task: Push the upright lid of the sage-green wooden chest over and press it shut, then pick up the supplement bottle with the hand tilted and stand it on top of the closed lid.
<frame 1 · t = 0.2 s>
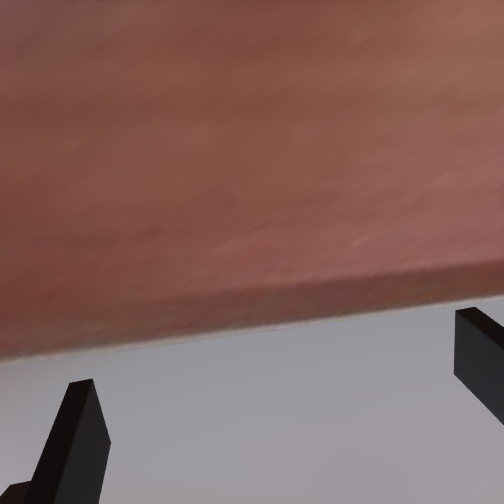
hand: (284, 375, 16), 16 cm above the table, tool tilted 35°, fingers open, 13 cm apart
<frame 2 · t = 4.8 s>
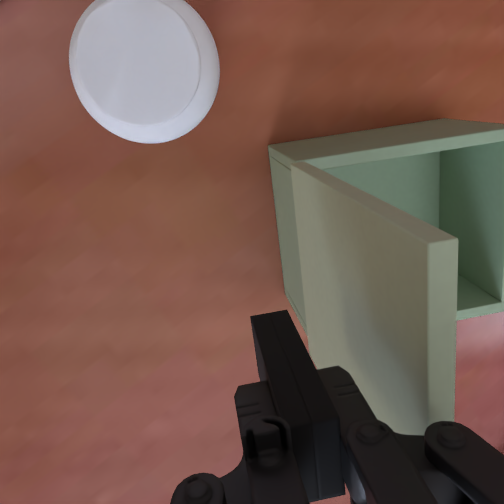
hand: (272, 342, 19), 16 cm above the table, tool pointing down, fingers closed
chest: (361, 209, 34), on the table
supplement bottle: (157, 76, 30), on the table
lid: (351, 321, 19), point 15 cm above the table, hinge at 89.2°, touching gripper
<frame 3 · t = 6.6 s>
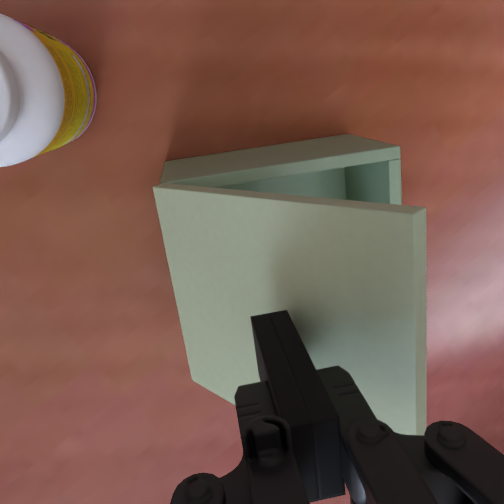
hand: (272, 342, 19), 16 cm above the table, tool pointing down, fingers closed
chest: (267, 226, 34), on the table
supplement bottle: (43, 92, 29), on the table
lid: (271, 321, 20), point 14 cm above the table, hinge at 53.6°, touching gripper
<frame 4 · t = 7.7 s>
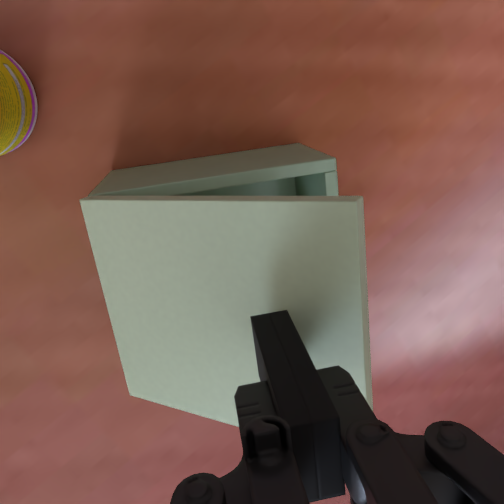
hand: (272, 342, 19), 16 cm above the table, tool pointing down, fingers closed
chest: (219, 235, 33), on the table
lid: (218, 319, 21), point 13 cm above the table, hinge at 37.4°, touching gripper
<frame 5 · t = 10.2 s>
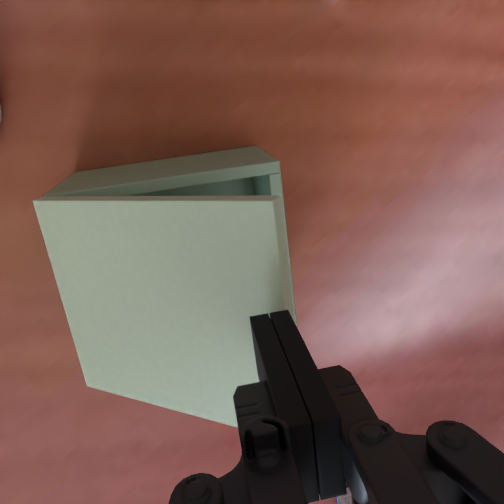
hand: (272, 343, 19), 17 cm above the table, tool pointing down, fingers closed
chest: (181, 234, 34), on the table
lid: (163, 311, 22), point 13 cm above the table, hinge at 36.3°, touching gripper
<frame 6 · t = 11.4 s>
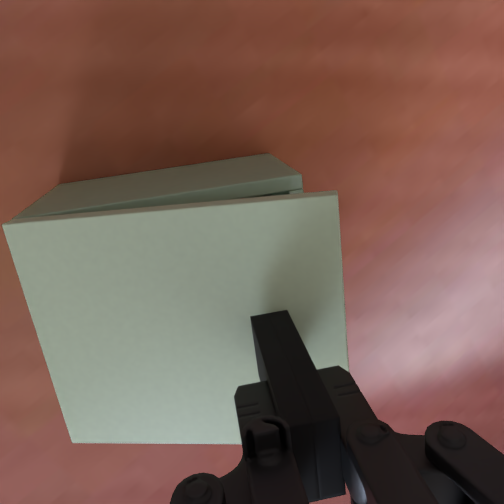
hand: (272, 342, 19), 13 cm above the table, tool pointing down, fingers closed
chest: (182, 255, 30), on the table
lid: (186, 334, 20), point 11 cm above the table, hinge at 16.7°, touching gripper
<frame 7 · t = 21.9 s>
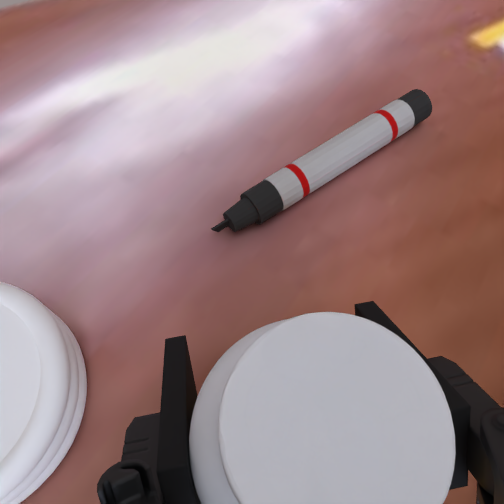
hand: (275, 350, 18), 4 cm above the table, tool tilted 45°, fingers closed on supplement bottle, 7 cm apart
marker: (321, 175, 27), on the table
supplement bottle: (286, 452, 21), on the table, touching gripper
when the fingers open (14 cm above the table, at t = 29.6 s): supplement bottle stays where it is, resting on lid.
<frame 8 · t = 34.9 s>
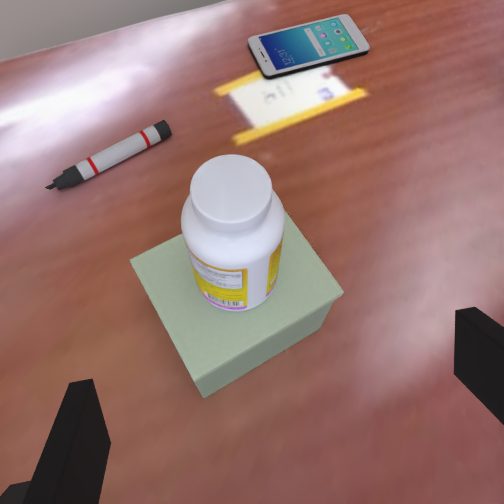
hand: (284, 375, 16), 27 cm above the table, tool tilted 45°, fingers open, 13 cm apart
chest: (233, 312, 46), on the table
marker: (112, 163, 54), on the table
supplement bottle: (236, 276, 38), point 9 cm above the table, touching lid
lid: (235, 277, 38), point 9 cm above the table, hinge at -0.2°, touching chest, supplement bottle
smartphone: (307, 49, 62), on the table
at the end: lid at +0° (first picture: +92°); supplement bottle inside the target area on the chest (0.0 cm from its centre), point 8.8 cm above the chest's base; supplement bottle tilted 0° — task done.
